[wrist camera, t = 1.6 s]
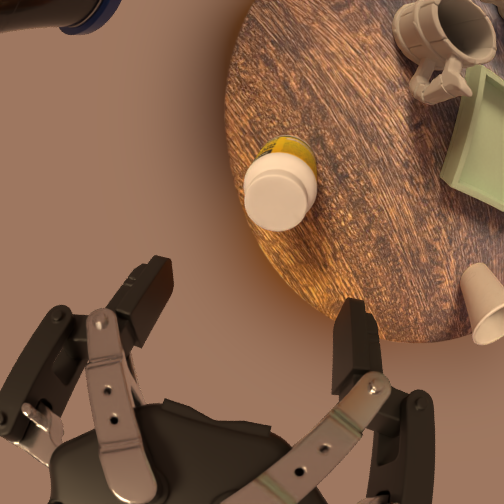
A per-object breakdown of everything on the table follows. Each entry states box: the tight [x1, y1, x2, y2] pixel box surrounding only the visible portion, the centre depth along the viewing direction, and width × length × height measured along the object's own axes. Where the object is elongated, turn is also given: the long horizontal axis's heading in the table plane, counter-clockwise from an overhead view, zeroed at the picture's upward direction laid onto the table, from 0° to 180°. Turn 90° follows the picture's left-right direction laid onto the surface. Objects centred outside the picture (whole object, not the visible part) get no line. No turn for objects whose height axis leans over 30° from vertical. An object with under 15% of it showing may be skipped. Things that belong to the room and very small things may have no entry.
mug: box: [392, 0, 497, 105], centre depth 13 cm, size 8×12×12 cm, turn 168°
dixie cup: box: [460, 263, 504, 345], centre depth 27 cm, size 8×8×10 cm
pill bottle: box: [244, 135, 317, 231], centre depth 24 cm, size 6×6×11 cm
